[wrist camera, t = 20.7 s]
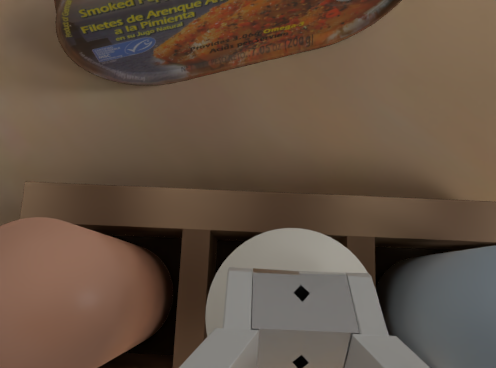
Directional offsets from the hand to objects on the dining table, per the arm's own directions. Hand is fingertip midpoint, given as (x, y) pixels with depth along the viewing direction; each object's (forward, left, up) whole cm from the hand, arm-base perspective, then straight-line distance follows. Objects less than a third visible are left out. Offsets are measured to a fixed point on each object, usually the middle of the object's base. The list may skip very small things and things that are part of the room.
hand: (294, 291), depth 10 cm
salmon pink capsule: (+4, -4, -9) cm, 11 cm away
